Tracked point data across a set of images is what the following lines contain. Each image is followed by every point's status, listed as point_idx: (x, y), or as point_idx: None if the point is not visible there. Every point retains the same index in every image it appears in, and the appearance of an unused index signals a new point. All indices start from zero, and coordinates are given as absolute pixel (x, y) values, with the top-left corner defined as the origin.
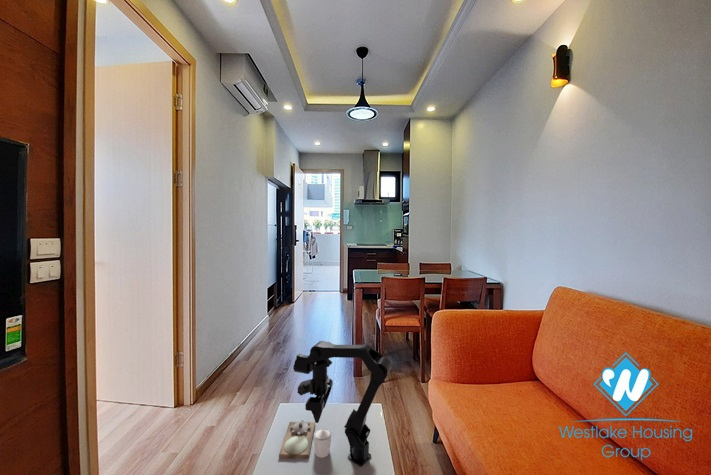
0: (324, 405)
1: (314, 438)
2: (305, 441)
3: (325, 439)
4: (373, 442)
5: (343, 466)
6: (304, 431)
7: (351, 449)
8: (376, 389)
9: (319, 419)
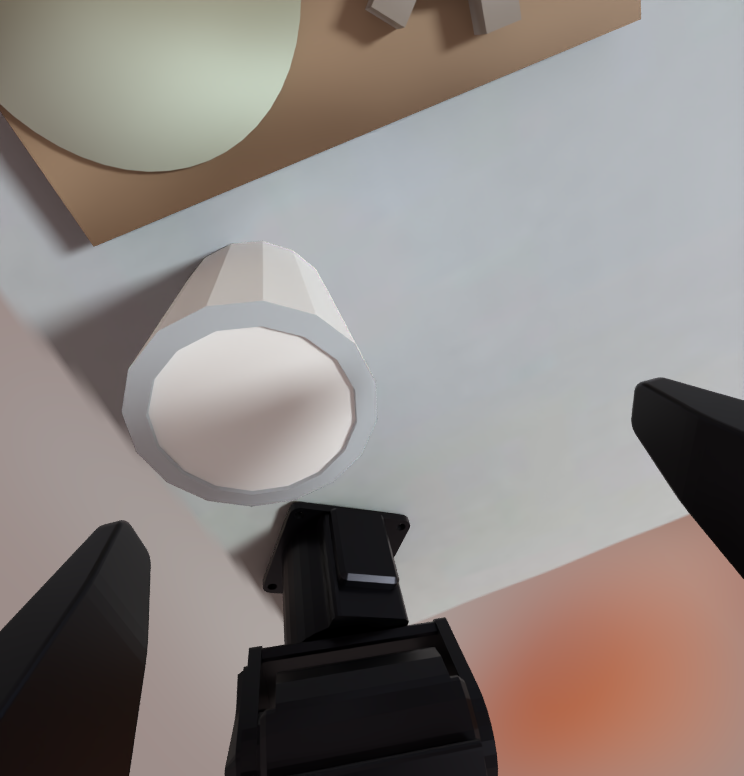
0: (667, 471)
1: (144, 347)
2: (240, 92)
3: (189, 485)
4: (486, 559)
5: (209, 508)
6: None
7: (321, 554)
8: None
9: (140, 636)
